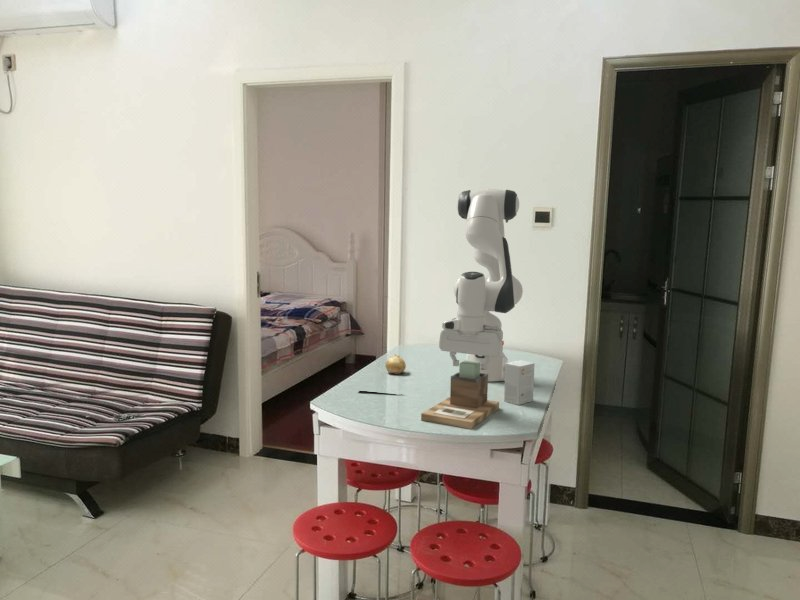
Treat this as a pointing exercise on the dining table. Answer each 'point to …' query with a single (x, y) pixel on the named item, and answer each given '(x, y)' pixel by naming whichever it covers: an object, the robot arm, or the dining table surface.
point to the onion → (395, 364)
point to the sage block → (469, 369)
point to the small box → (519, 382)
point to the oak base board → (460, 421)
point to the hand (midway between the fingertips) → (469, 367)
